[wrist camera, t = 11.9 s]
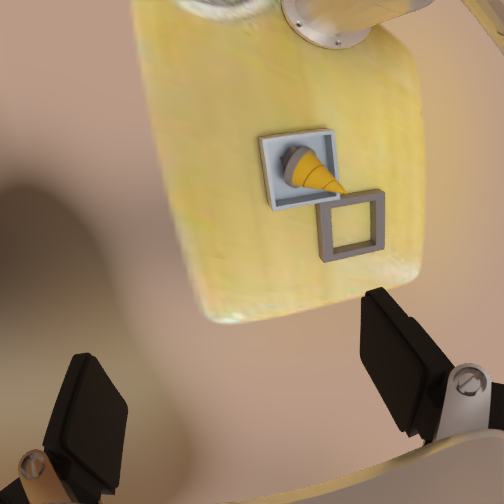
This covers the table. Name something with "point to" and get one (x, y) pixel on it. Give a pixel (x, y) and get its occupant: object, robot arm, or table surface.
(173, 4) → the table surface
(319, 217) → the holder panel
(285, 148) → the parts tray
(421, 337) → the robot arm
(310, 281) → the table surface
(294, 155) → the grooved yellow cone
